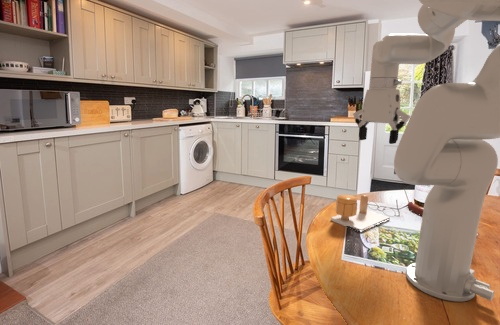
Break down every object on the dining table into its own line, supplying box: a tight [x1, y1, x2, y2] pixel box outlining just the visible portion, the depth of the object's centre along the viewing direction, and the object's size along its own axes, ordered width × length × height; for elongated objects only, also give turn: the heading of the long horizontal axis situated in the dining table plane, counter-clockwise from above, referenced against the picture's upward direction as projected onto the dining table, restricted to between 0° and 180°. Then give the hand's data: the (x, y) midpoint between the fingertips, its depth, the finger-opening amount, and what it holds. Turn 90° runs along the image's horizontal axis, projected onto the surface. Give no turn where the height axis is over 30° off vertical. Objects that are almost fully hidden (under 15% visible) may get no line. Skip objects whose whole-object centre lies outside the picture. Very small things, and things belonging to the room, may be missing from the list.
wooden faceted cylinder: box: [335, 194, 358, 217], centre depth 93 cm, size 6×6×5 cm
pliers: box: [407, 201, 424, 217], centre depth 99 cm, size 11×20×3 cm, turn 165°
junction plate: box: [330, 194, 390, 230], centre depth 95 cm, size 11×16×7 cm
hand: (376, 141), depth 91 cm, fingers open, 9 cm apart
